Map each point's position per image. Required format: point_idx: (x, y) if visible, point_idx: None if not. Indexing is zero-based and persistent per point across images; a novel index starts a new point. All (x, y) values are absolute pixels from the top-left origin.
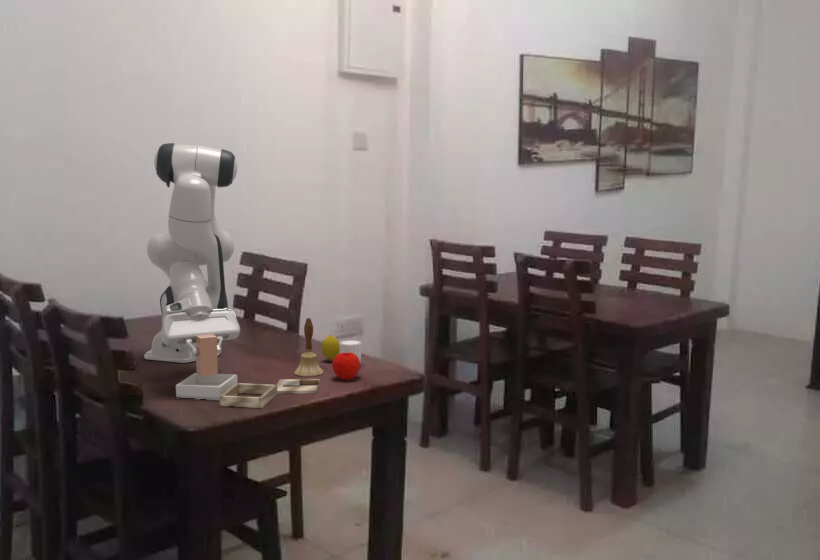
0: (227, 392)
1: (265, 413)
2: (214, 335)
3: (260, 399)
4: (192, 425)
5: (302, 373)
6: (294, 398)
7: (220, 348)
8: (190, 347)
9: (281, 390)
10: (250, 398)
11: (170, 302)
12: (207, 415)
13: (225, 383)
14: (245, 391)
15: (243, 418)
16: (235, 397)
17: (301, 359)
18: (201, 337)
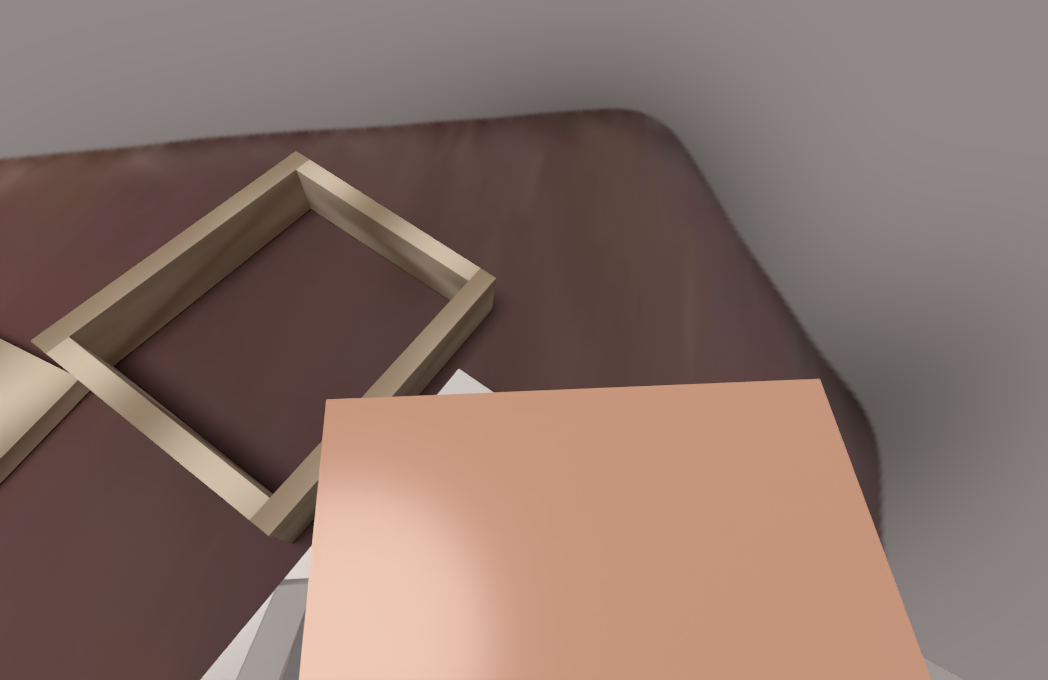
0: (427, 327)
1: (333, 131)
2: (319, 655)
3: (303, 161)
4: (649, 144)
5: None
6: (58, 250)
7: (281, 603)
8: None
9: (29, 362)
10: (347, 185)
11: None
12: (577, 215)
13: None
14: (249, 477)
15: (444, 123)
16: (416, 228)
17: None
18: (789, 476)
